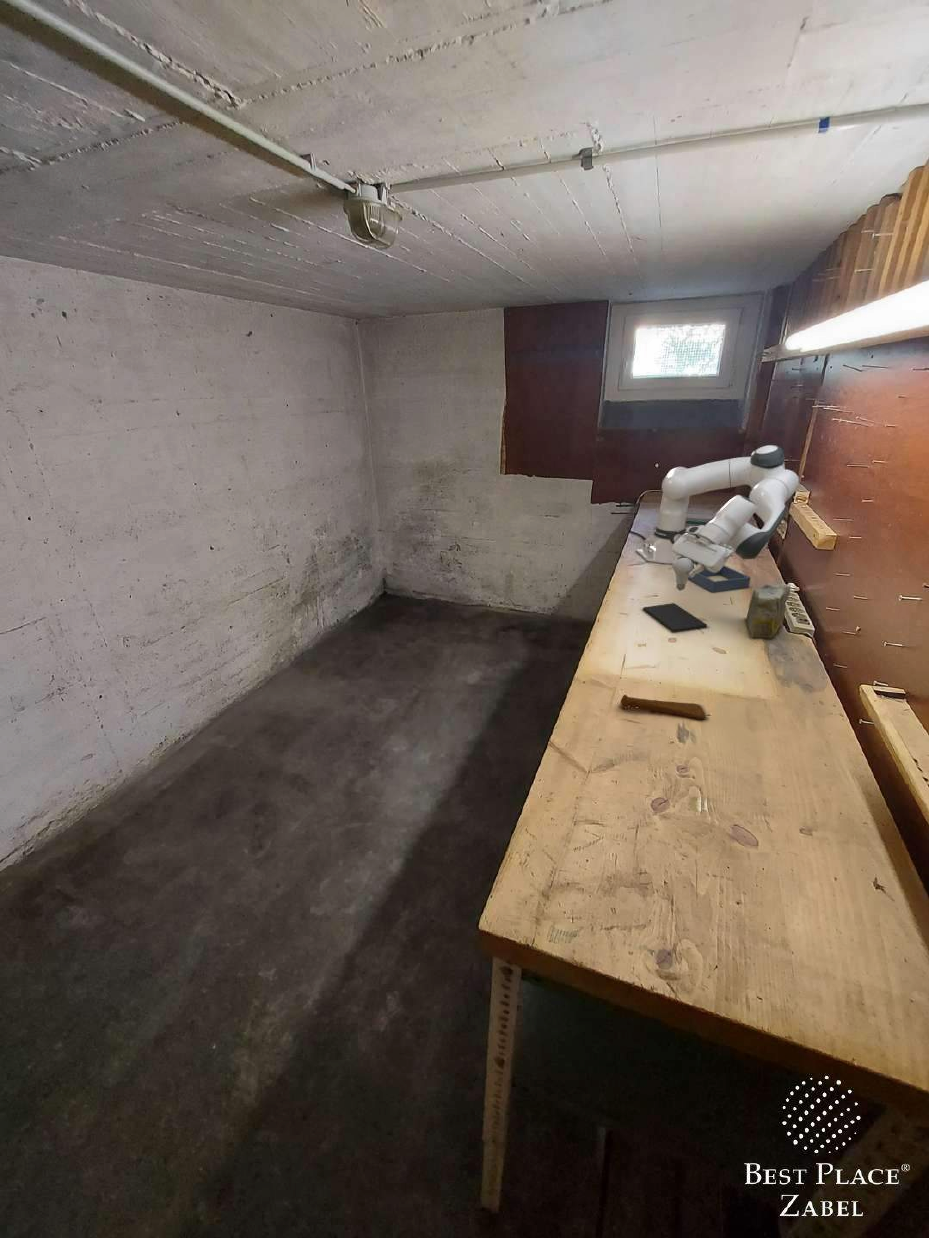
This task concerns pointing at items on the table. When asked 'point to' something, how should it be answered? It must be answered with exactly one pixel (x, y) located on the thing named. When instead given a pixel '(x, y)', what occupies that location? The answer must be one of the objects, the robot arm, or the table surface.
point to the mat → (674, 617)
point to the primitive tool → (664, 706)
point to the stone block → (767, 610)
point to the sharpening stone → (696, 520)
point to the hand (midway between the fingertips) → (681, 572)
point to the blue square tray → (735, 580)
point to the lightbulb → (682, 571)
